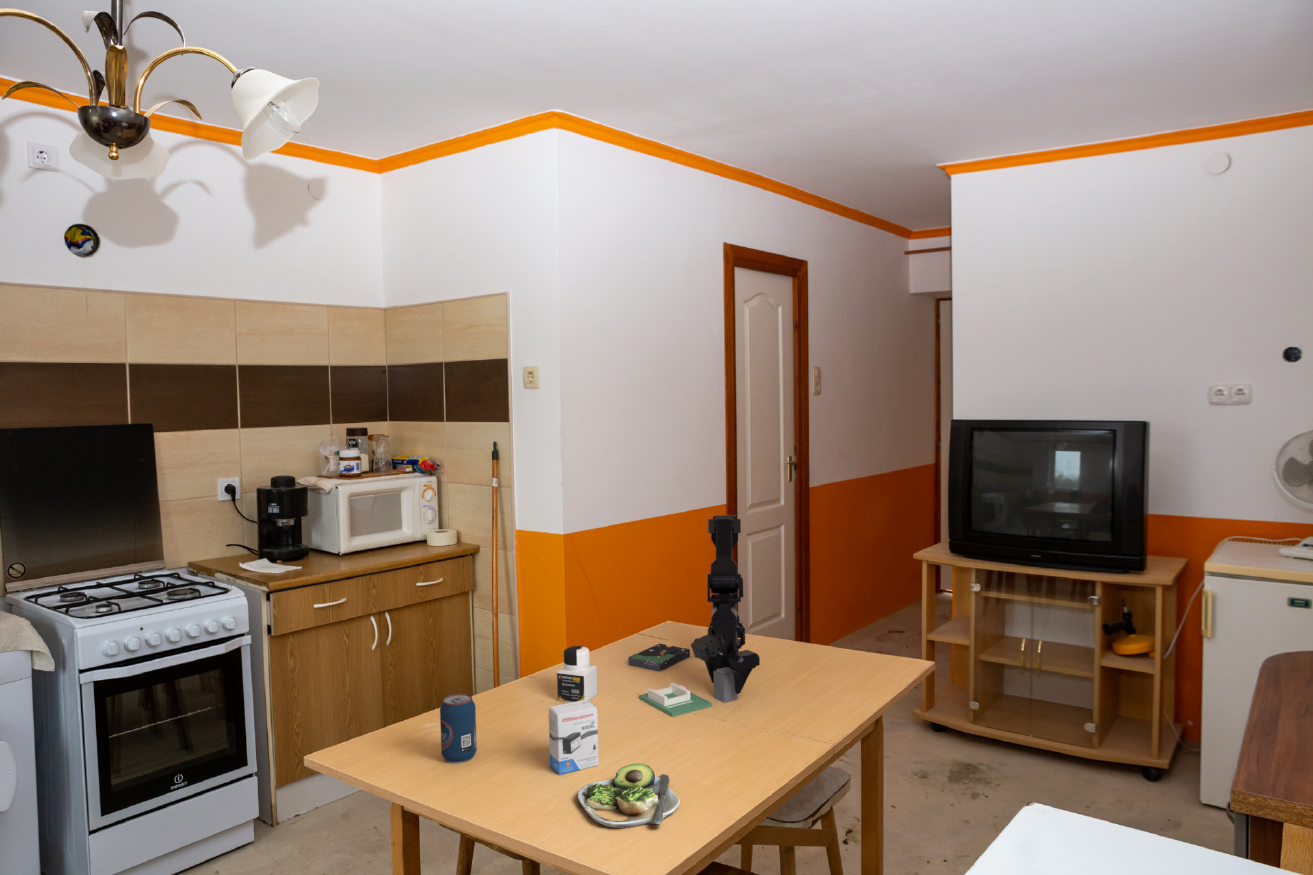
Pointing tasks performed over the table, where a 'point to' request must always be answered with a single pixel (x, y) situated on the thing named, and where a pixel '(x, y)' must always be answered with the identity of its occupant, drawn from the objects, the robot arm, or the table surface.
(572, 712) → the ink box
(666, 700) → the board
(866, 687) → the table surface
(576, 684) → the medicine bottle
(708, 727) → the table surface
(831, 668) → the table surface
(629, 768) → the avocado toast plate
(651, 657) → the disk drive
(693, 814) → the table surface
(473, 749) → the soda can
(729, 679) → the plug
